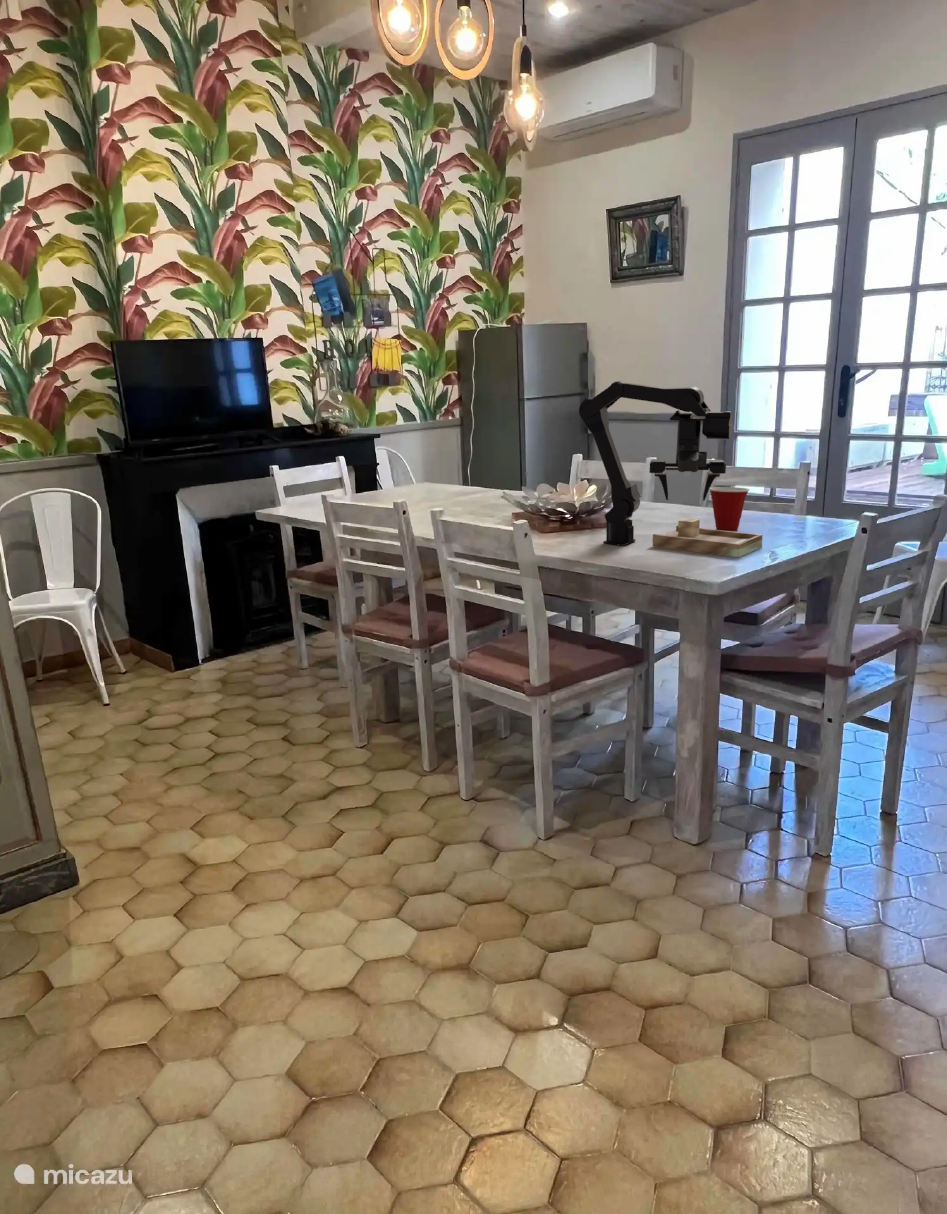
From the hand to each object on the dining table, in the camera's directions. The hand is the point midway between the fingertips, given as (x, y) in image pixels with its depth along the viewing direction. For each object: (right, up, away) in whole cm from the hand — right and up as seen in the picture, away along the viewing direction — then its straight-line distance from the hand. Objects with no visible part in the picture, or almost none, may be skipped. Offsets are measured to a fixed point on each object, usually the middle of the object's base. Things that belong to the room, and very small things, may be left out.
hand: (685, 500), depth 214 cm
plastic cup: (+17, -6, +20) cm, 27 cm away
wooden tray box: (+6, -12, +1) cm, 13 cm away
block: (+3, -8, +6) cm, 11 cm away
